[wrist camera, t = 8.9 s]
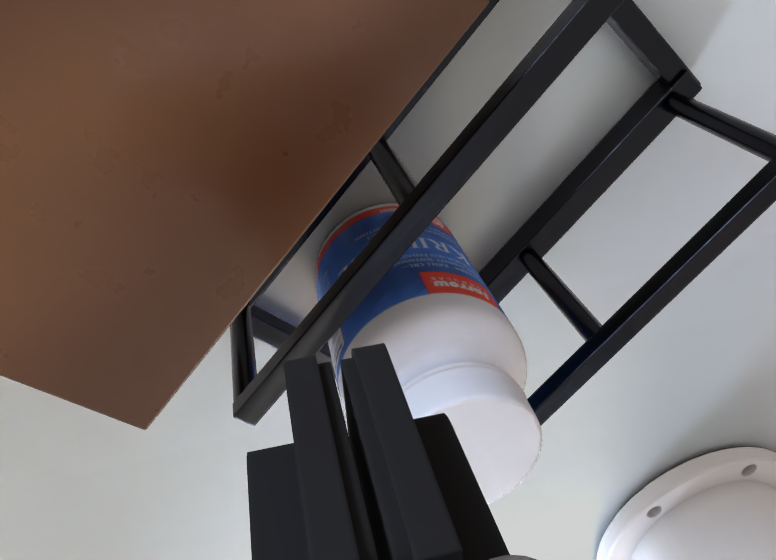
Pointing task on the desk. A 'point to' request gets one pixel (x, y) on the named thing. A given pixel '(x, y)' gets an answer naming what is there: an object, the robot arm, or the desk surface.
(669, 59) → the wire rack
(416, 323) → the pill bottle
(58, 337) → the chest lid
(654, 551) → the robot arm
